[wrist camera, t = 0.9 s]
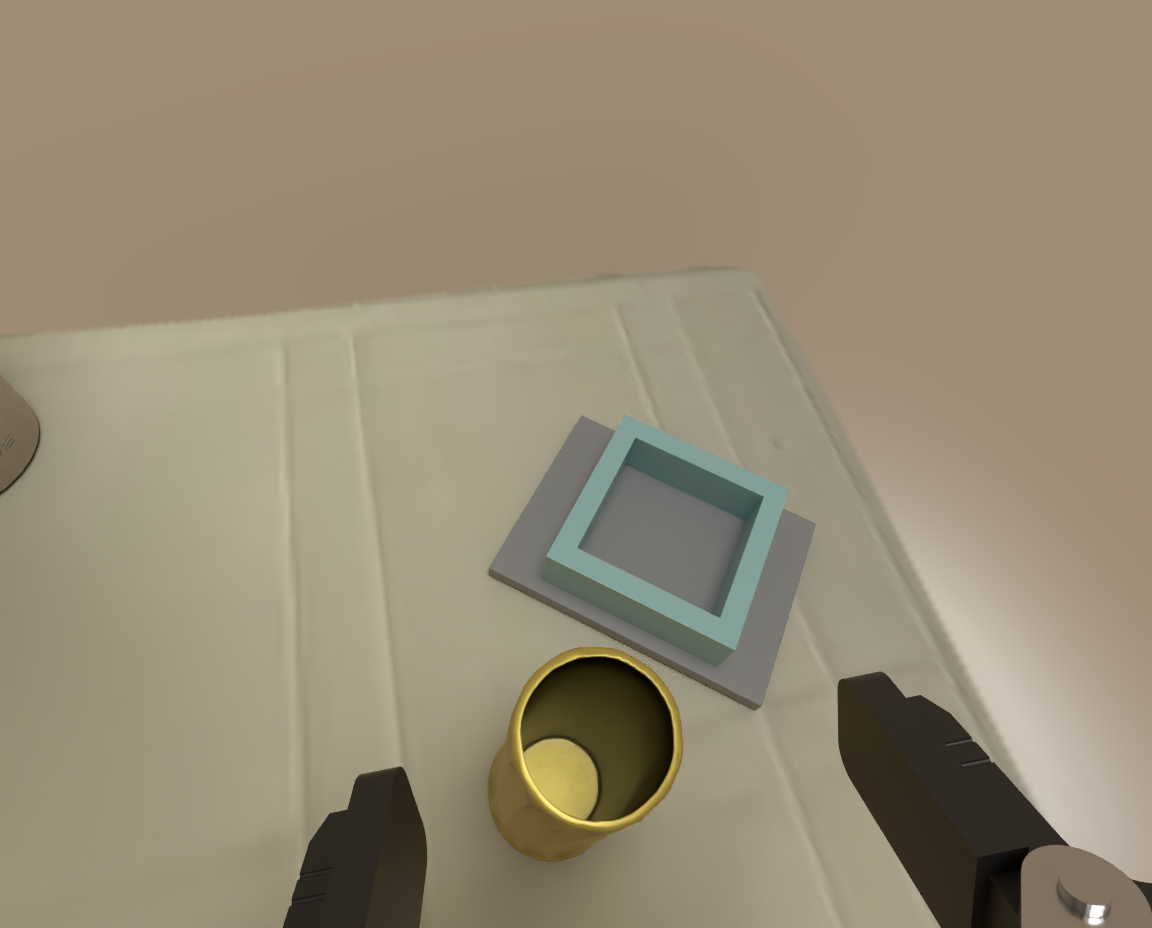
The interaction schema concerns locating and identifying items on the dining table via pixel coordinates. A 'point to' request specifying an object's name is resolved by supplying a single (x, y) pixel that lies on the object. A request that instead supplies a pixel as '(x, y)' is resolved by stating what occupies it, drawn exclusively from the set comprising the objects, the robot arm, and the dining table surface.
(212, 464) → the dining table surface
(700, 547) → the dock
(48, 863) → the dining table surface
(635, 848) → the dining table surface
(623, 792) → the vase
